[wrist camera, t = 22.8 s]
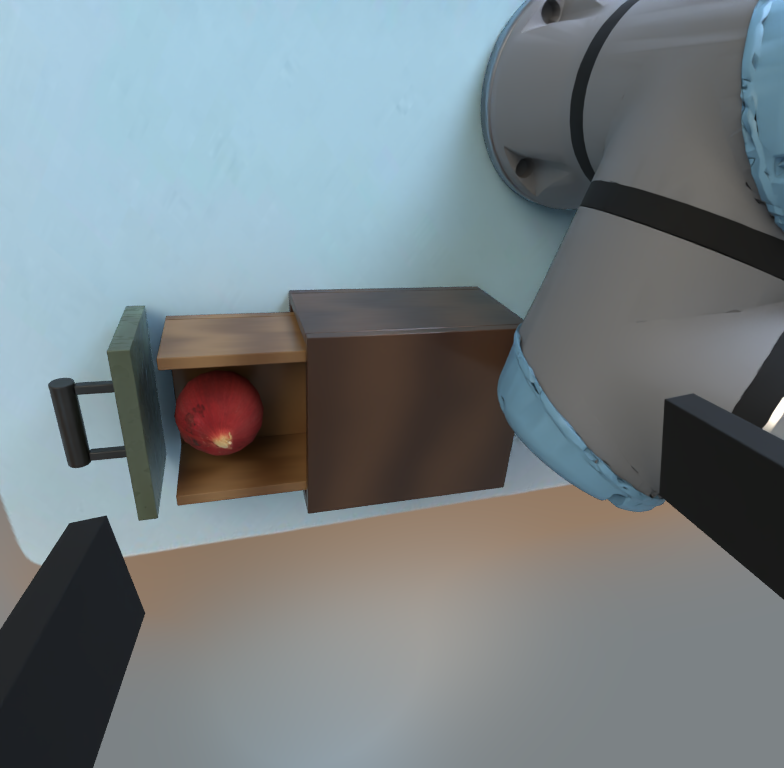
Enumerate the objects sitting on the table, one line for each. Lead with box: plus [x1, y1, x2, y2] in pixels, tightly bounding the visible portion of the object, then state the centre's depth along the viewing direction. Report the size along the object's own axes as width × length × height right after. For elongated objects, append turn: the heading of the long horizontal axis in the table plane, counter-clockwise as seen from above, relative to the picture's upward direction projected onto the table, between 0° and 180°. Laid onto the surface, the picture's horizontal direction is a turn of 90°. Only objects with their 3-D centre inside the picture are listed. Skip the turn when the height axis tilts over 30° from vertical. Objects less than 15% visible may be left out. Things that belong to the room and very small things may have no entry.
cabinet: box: [289, 287, 524, 513], centre depth 42 cm, size 16×14×10 cm
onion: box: [174, 370, 264, 456], centre depth 37 cm, size 6×6×8 cm
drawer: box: [48, 306, 307, 521], centre depth 38 cm, size 19×12×8 cm, turn 86°
